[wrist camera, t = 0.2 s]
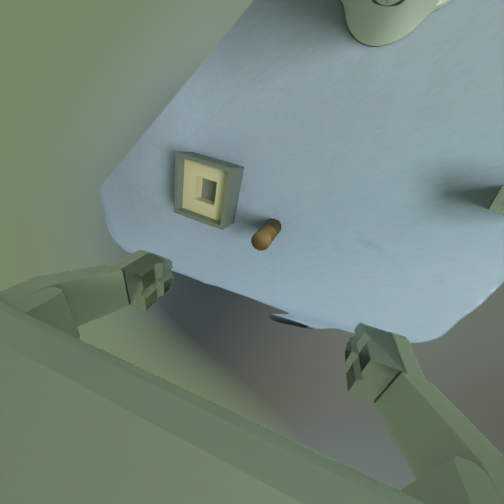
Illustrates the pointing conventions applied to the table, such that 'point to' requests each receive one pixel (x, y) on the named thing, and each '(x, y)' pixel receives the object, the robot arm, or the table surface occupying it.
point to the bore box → (206, 189)
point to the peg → (266, 234)
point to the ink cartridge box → (498, 202)
